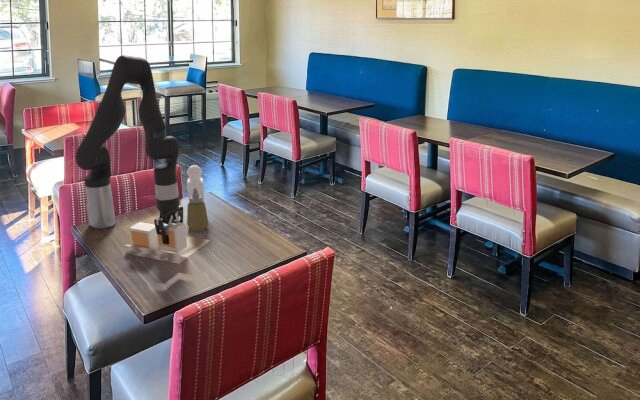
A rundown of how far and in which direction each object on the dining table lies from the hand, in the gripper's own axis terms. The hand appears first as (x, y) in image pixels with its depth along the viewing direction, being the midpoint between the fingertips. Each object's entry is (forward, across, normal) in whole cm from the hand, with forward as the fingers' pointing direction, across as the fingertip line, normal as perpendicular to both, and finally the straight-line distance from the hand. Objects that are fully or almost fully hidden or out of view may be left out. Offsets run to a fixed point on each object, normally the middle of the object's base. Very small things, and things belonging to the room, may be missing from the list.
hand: (171, 240), depth 190 cm
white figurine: (+7, -37, -13) cm, 40 cm away
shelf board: (+7, -5, -5) cm, 10 cm away
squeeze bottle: (+7, -23, -4) cm, 24 cm away
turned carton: (+3, 0, 0) cm, 3 cm away
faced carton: (+6, 0, -11) cm, 12 cm away
